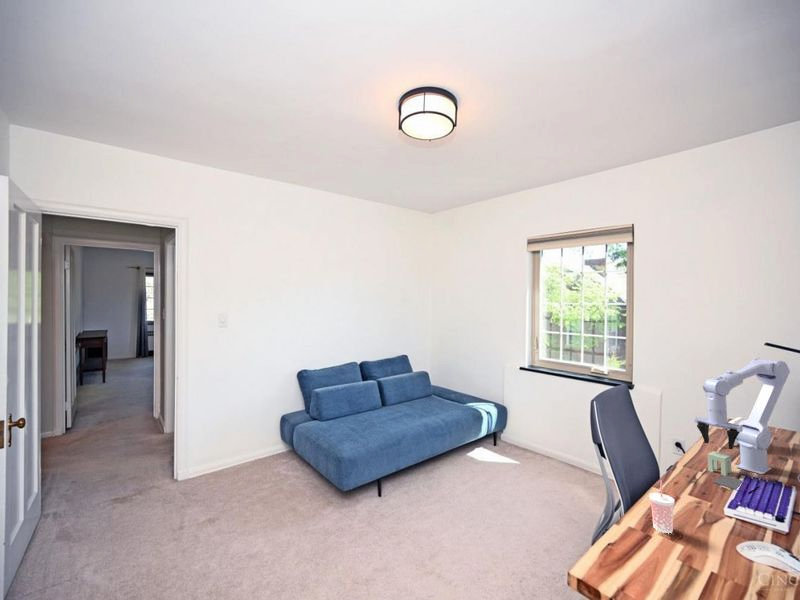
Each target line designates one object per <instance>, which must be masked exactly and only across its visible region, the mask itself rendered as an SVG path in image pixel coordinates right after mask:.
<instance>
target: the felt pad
mask: <svg viewBox="0 0 800 600" xmlns="http://www.w3.org/2000/svg"><path fill="white" fill-rule="evenodd" d="M744 481H745V480H741V479H738V478H734V477H731V476H728V475H727V476H725V475H721V476H720V477H719V478H717V479H715V480H714V481H713V482H712V483H713V484H715V485H719V486H722V487H725V488H728V489H733V490H736V489H737V488H738V487H739V486H740V484H741V483H742V482H744ZM736 491H737V490H736Z"/></svg>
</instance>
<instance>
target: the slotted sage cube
mask: <svg viewBox="0 0 800 600" xmlns="http://www.w3.org/2000/svg"><path fill="white" fill-rule="evenodd" d="M719 462H720V475H721V476H724V475H725V476H728V474H732V473H733V471H732V456H731V454H726V453H722V452H718V451H714V450H713V451H711V452H709V453H707V471H708V472H711V473H714V472H715V470H719Z"/></svg>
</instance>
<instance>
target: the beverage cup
mask: <svg viewBox="0 0 800 600" xmlns="http://www.w3.org/2000/svg"><path fill="white" fill-rule="evenodd" d="M659 486H660V487H659V488H660V489H659V490H660V492H650V493H649V494H648V495H649V497H648V498H649V501H650V506H651V508H650V509H651V516H652V525H653V529H654V528H655V529H656V530H655V529H654V530H655V531H657V530H658V531H660V532H659V533H661V532H662V533H661V534H664V533H668V534H667V535H670V534H669V533H671V534H673V533H672V532H674V531H673V529H674V505H675V503H676V502H675V499H674V498H673V497H671V496H670V495H668V494H664V493H663V480H662V479H659ZM658 531H657V532H658Z"/></svg>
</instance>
